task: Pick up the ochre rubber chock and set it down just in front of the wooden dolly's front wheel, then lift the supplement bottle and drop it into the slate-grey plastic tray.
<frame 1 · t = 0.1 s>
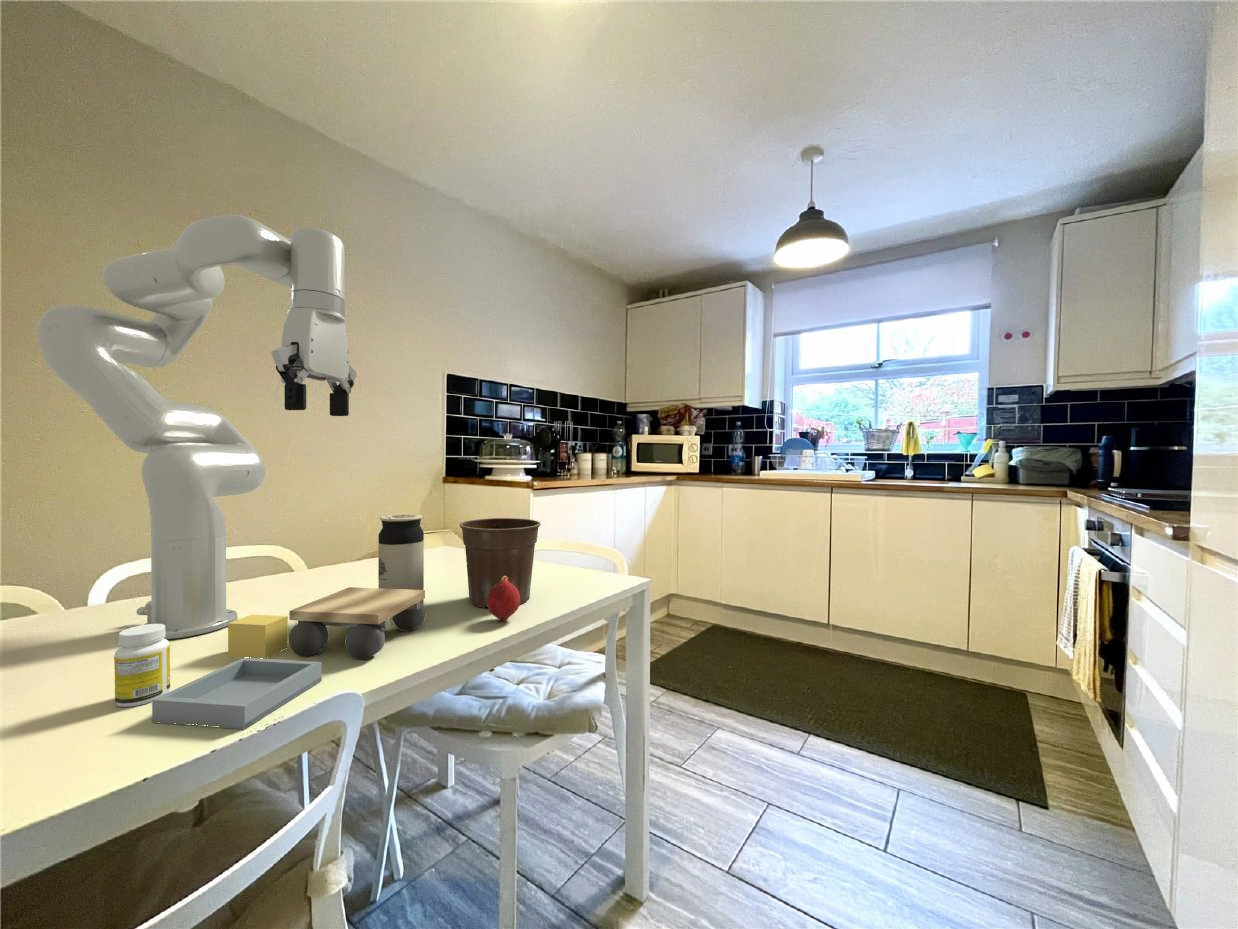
hand: (318, 413, 78), 37 cm above the table, tool pointing down, fingers open, 9 cm apart
supplement bottle: (143, 699, 57), on the table
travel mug: (401, 610, 92), on the table
tray: (244, 700, 57), on the table
plant pot: (500, 601, 98), on the table
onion: (503, 621, 85), on the table
chock: (258, 653, 71), on the table
dolly: (362, 640, 76), on the table
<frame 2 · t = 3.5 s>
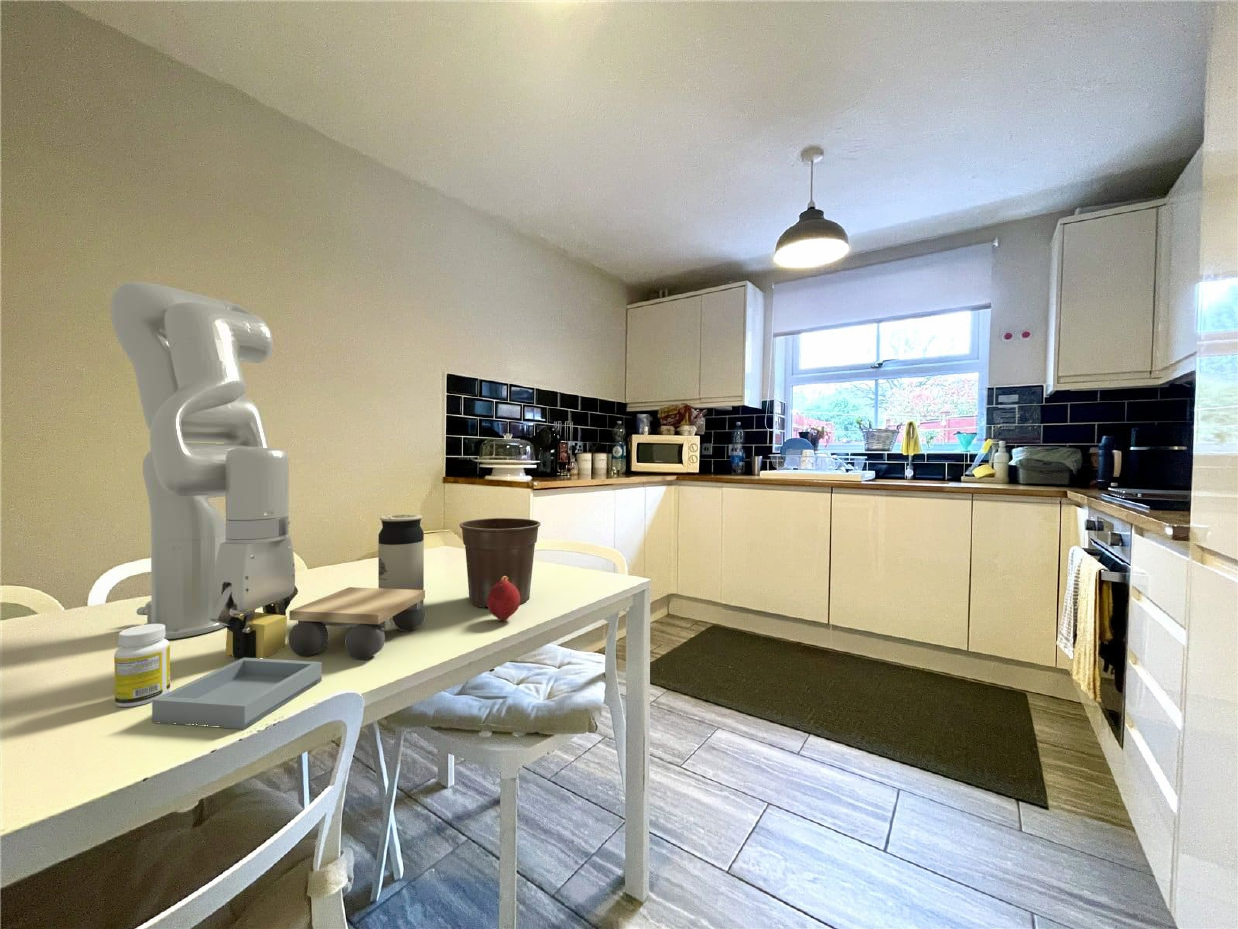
hand: (258, 650, 71), 0 cm above the table, tool pointing down, fingers closed on chock, 3 cm apart
chock: (255, 651, 71), on the table, touching gripper
everything else where it was.
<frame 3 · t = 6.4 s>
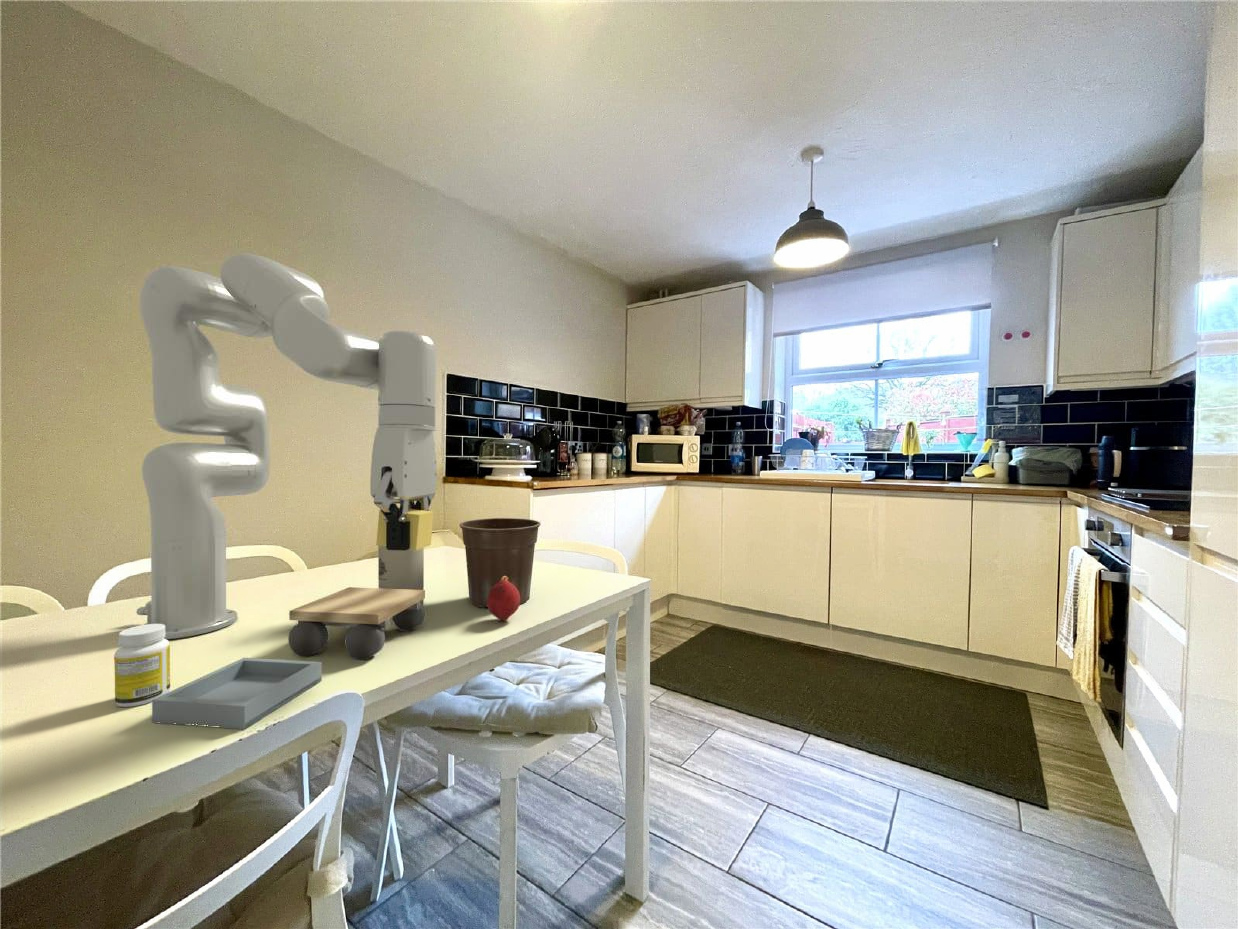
hand: (407, 545, 68), 17 cm above the table, tool pointing down, fingers closed on chock, 4 cm apart
chock: (404, 545, 68), point 17 cm above the table, tilted 5°, touching gripper
everything else where it was.
when the fingers open (2 cm above the table, at t = 9.3 s): chock drops 2 cm, on the table.
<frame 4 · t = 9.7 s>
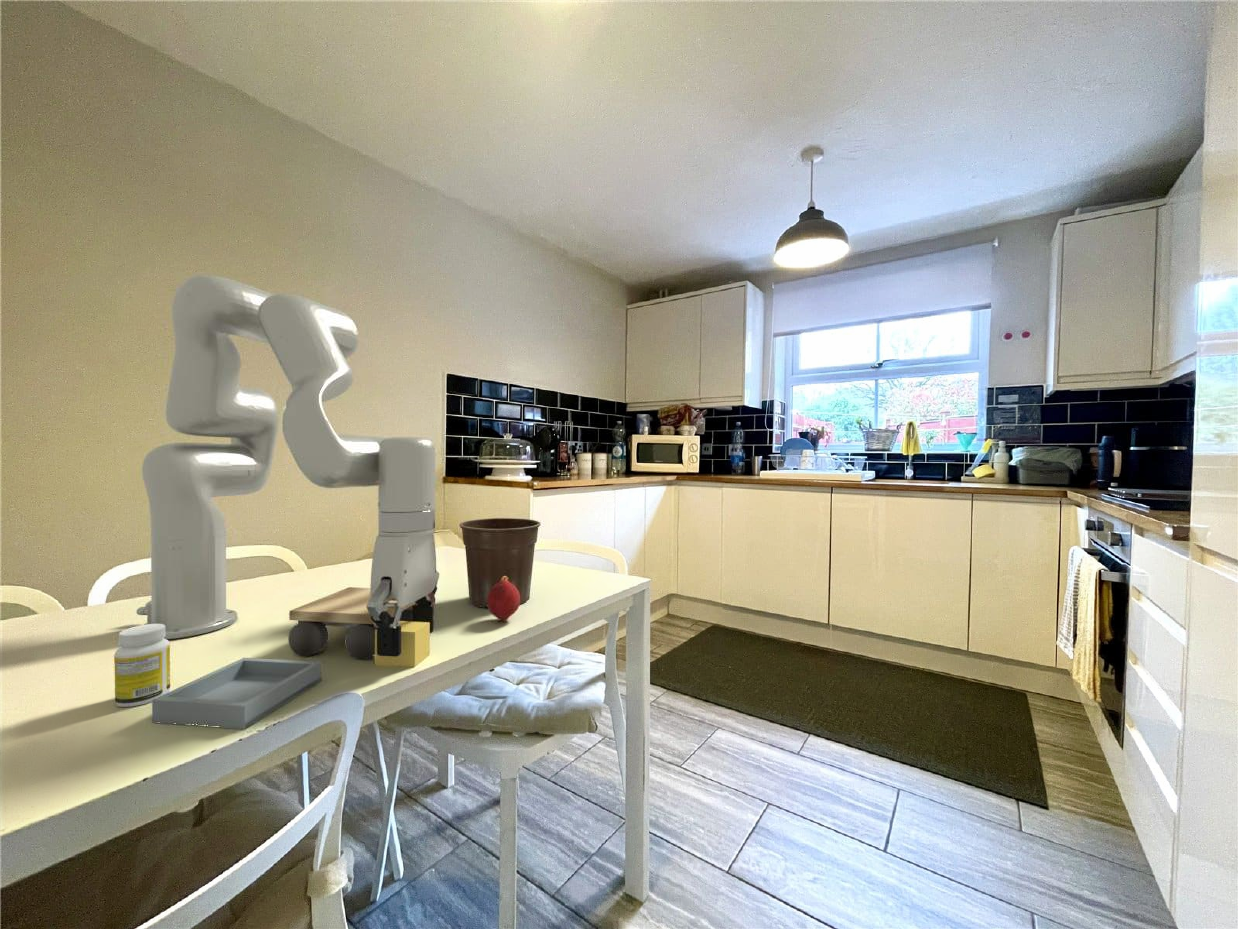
hand: (407, 642, 69), 3 cm above the table, tool pointing down, fingers open, 8 cm apart
chock: (402, 660, 69), on the table
everything else where it was.
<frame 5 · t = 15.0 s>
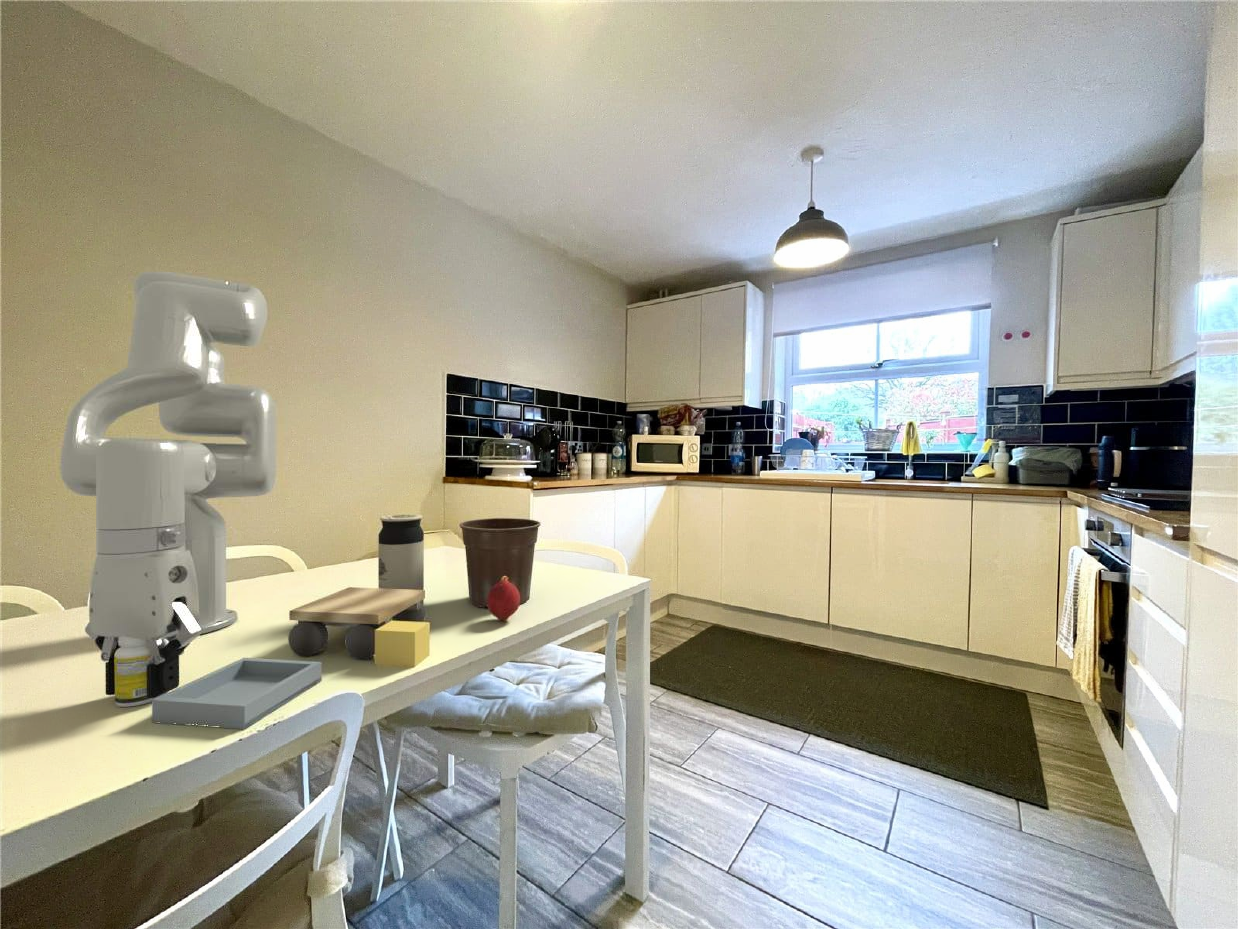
hand: (143, 689, 57), 1 cm above the table, tool pointing down, fingers closed on supplement bottle, 4 cm apart
supplement bottle: (143, 699, 57), on the table, touching gripper
everything else where it was.
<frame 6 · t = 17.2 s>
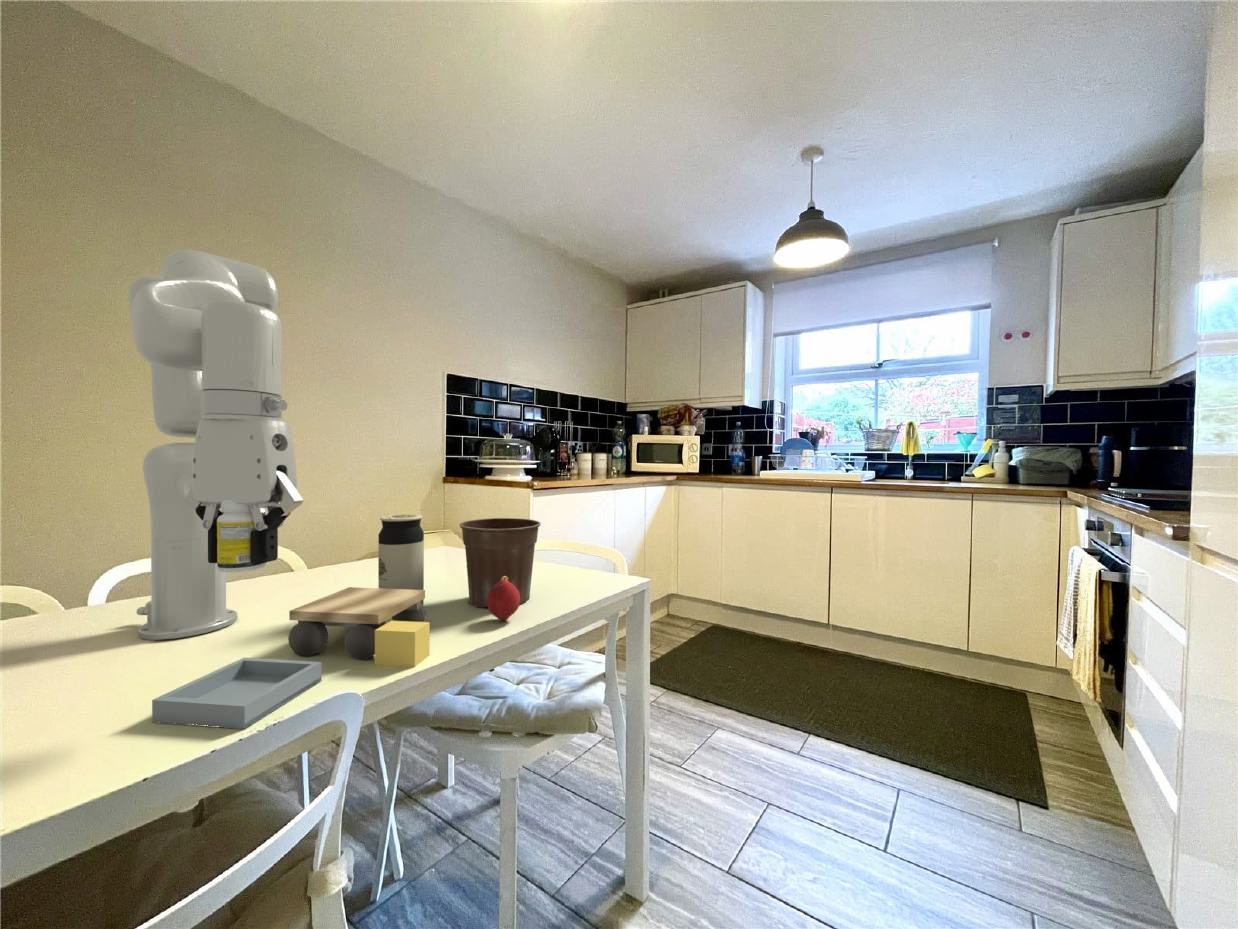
hand: (243, 560, 57), 17 cm above the table, tool pointing down, fingers closed on supplement bottle, 4 cm apart
supplement bottle: (242, 570, 57), point 16 cm above the table, touching gripper
everything else where it was.
when the fingers open (4 cm above the table, at t = 19.5 s): supplement bottle drops 2 cm, resting on tray.
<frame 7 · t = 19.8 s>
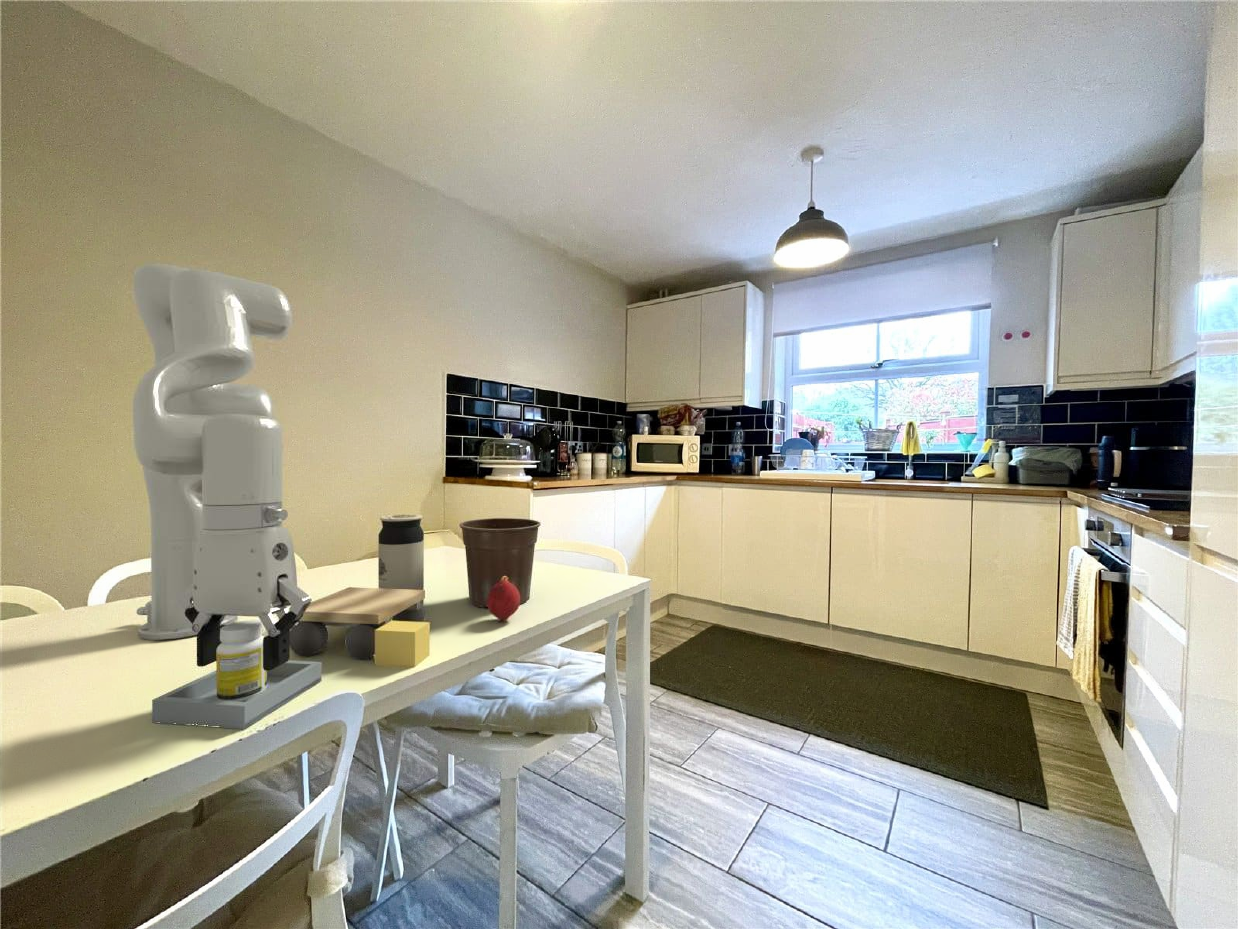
hand: (244, 663, 57), 4 cm above the table, tool pointing down, fingers open, 8 cm apart
supplement bottle: (242, 696, 57), resting on tray
everything else where it was.
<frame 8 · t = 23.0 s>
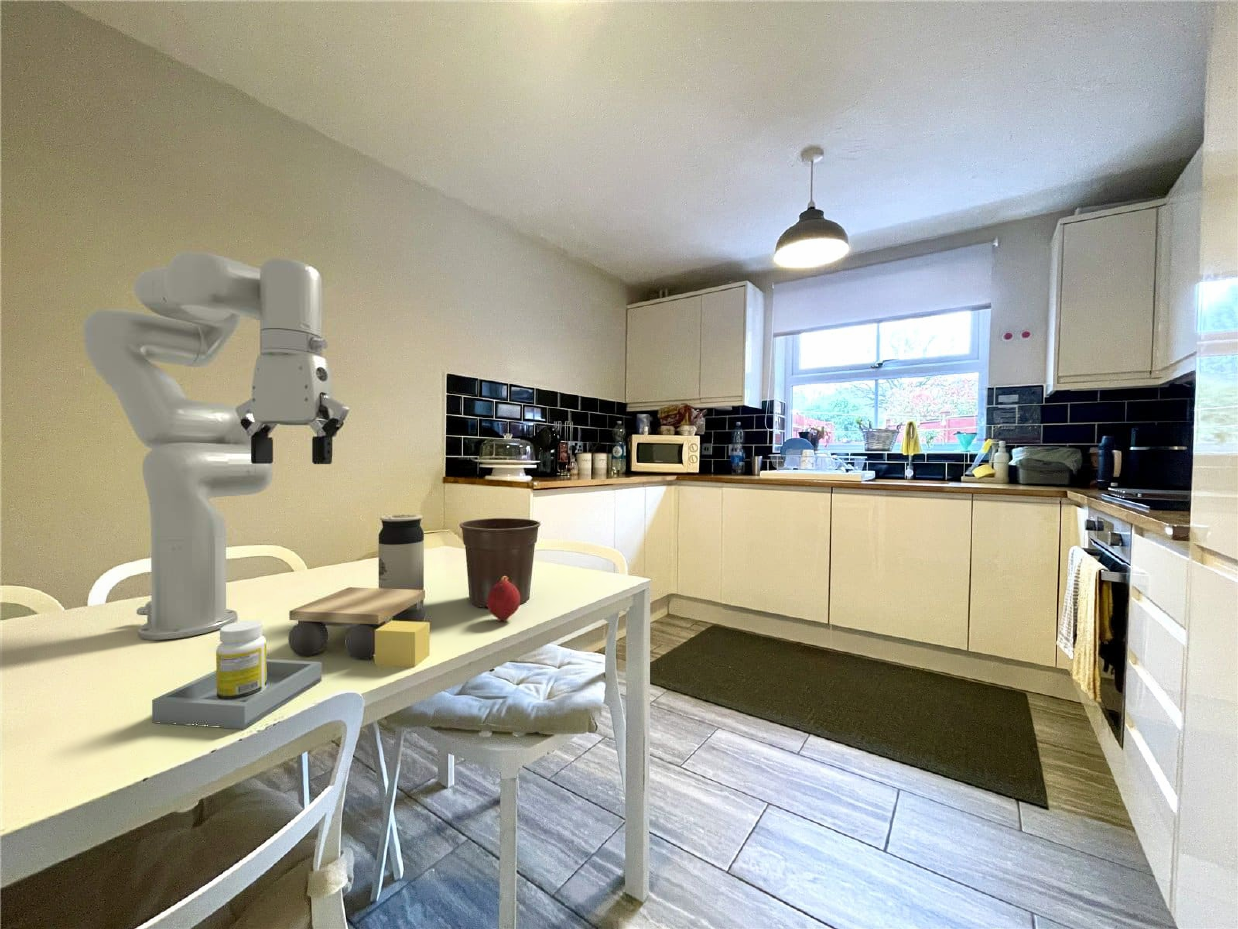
hand: (292, 463, 70), 28 cm above the table, tool pointing down, fingers open, 9 cm apart
nothing on the table moved.
at the end: chock 0.9 cm from the target spot on the table beside the dolly, on the table; supplement bottle inside the target area on the tray (0.3 cm from its centre), point 0.4 cm above the tray's base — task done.
